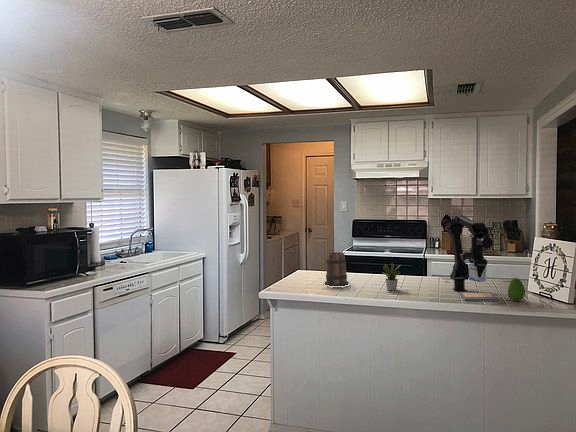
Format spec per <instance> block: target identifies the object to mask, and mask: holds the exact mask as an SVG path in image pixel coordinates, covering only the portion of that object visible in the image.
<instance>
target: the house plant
mask: <svg viewBox="0 0 576 432" xmlns="http://www.w3.org/2000/svg"><path fill="white" fill-rule="evenodd" d="M383 264H384V263H383ZM378 265H379V266H380V264H378ZM394 267H395V265H393V261H392V262H391V266H390V267H389V265H388V264H386V263H385V264H384V265H383V267H382V269H383V270H384V271H385V272H383V273H382V274H383V275H384V276H385V277H387V278H385V285H386V290H387V291H388V290H392V291H391V292H394V291H393V290H396V291H397V286H398V280H399V279H398V278H396V277H397V276H398V277H400V275H401V274H400V271H398V269H399V268H400V267H401V264H400V265H398V266H396V268H395V269H394Z"/></svg>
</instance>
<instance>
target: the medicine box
mask: <svg viewBox="0 0 576 432" xmlns="http://www.w3.org/2000/svg"><path fill="white" fill-rule="evenodd" d="M473 264H474V263H469V264H468V267H469V278H468V280H470V281H473V282H478V283H482V282H483V283H484V282H486V281H487V266H486V267H485V269H484V271H483V273H482V275H481V277H478V274H477V268H476V267H475V266H474V265H473Z"/></svg>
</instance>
